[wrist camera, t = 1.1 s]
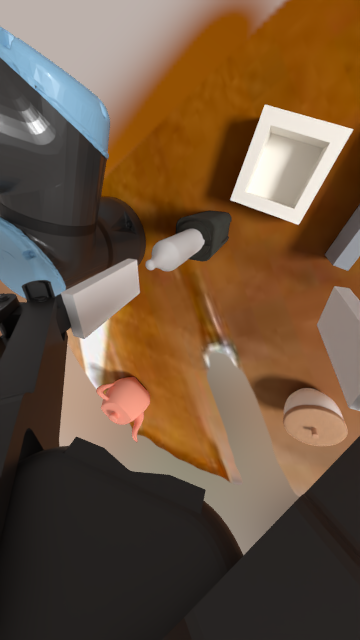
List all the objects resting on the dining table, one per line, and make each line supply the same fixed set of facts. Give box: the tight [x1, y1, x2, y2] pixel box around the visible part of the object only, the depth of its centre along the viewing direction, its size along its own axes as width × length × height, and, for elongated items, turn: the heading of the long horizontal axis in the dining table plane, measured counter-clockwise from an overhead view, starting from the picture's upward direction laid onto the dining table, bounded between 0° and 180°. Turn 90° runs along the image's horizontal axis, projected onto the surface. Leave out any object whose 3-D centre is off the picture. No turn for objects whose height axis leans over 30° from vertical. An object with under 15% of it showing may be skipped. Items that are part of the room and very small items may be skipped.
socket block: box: [230, 105, 353, 225], centre depth 28 cm, size 10×10×5 cm
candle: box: [146, 211, 231, 271], centre depth 27 cm, size 5×5×25 cm
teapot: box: [96, 377, 150, 442], centre depth 65 cm, size 13×20×12 cm, turn 39°
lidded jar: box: [283, 388, 348, 446], centre depth 44 cm, size 11×11×9 cm
